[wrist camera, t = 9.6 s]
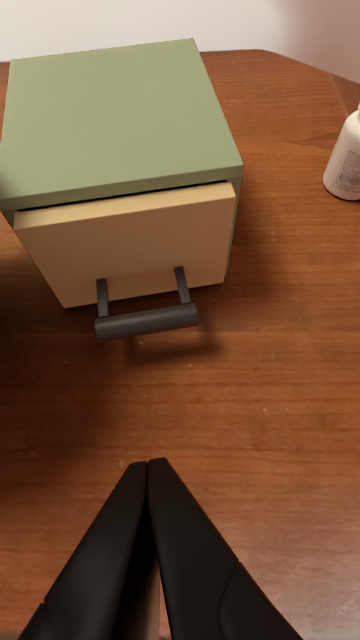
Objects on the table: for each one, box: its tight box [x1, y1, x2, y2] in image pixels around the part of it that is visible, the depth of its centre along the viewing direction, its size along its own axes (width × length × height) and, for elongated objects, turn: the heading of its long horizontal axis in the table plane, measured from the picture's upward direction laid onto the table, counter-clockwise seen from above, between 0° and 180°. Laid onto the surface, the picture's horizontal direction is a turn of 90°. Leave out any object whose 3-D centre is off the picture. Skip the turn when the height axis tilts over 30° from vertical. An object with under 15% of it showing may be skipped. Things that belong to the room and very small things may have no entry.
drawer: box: [13, 182, 236, 342], centre depth 23 cm, size 17×11×8 cm
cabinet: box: [0, 38, 244, 297], centre depth 24 cm, size 14×13×10 cm
